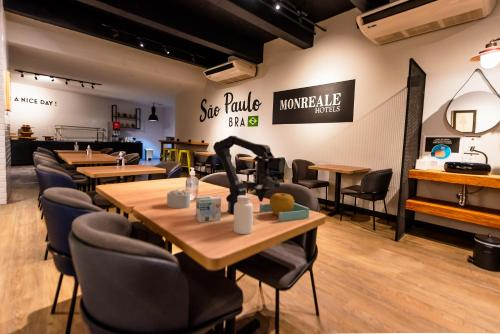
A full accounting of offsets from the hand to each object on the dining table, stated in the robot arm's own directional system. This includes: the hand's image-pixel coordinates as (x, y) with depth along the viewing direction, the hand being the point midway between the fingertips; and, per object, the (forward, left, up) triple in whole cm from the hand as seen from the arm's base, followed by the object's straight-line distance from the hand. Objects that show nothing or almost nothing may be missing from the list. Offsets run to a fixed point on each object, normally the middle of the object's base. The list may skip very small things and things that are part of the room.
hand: (260, 201), depth 131 cm
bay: (+14, 0, -8) cm, 16 cm away
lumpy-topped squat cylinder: (-32, +36, -8) cm, 49 cm away
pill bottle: (-17, -15, -8) cm, 24 cm away
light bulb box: (-25, +6, -8) cm, 27 cm away
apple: (+13, 0, -8) cm, 16 cm away
